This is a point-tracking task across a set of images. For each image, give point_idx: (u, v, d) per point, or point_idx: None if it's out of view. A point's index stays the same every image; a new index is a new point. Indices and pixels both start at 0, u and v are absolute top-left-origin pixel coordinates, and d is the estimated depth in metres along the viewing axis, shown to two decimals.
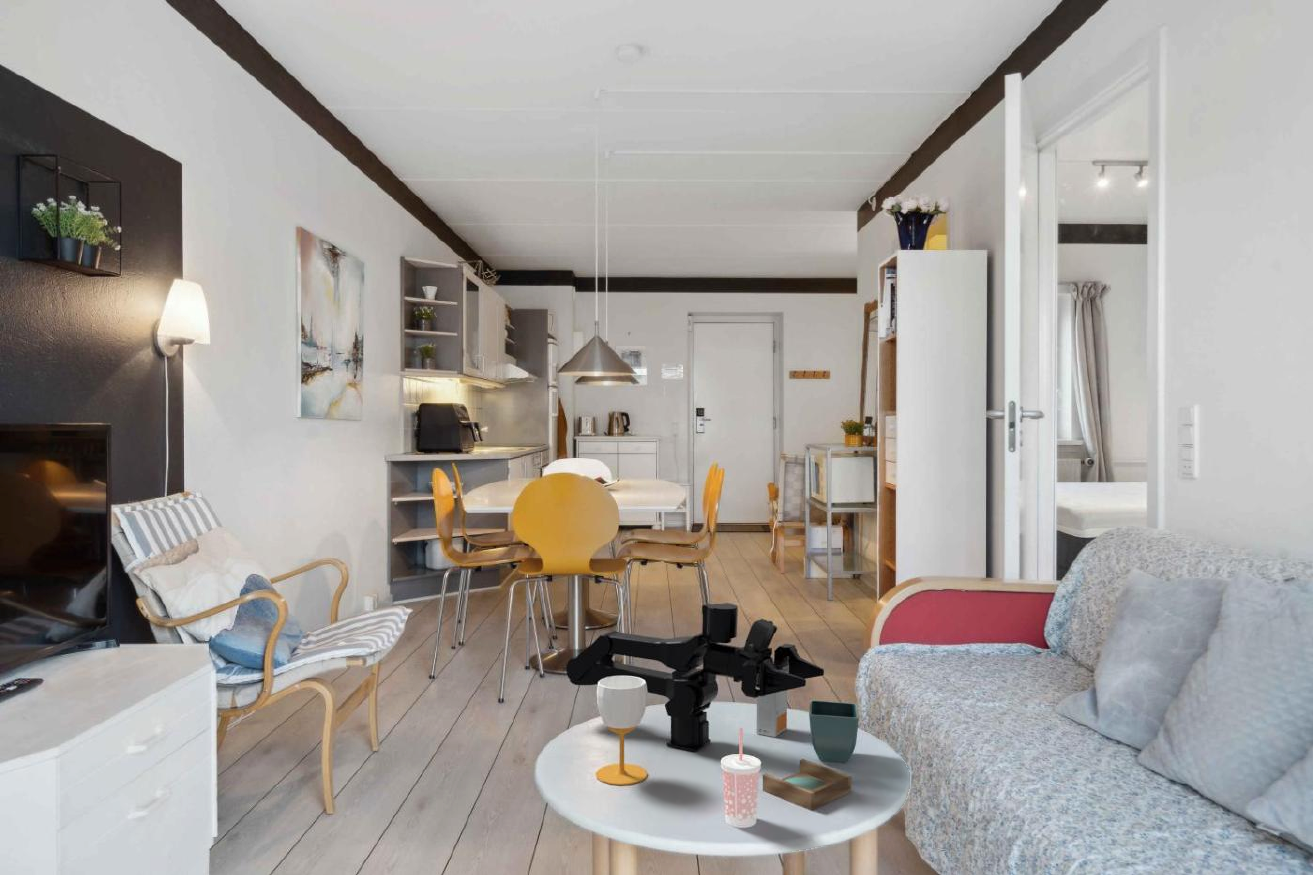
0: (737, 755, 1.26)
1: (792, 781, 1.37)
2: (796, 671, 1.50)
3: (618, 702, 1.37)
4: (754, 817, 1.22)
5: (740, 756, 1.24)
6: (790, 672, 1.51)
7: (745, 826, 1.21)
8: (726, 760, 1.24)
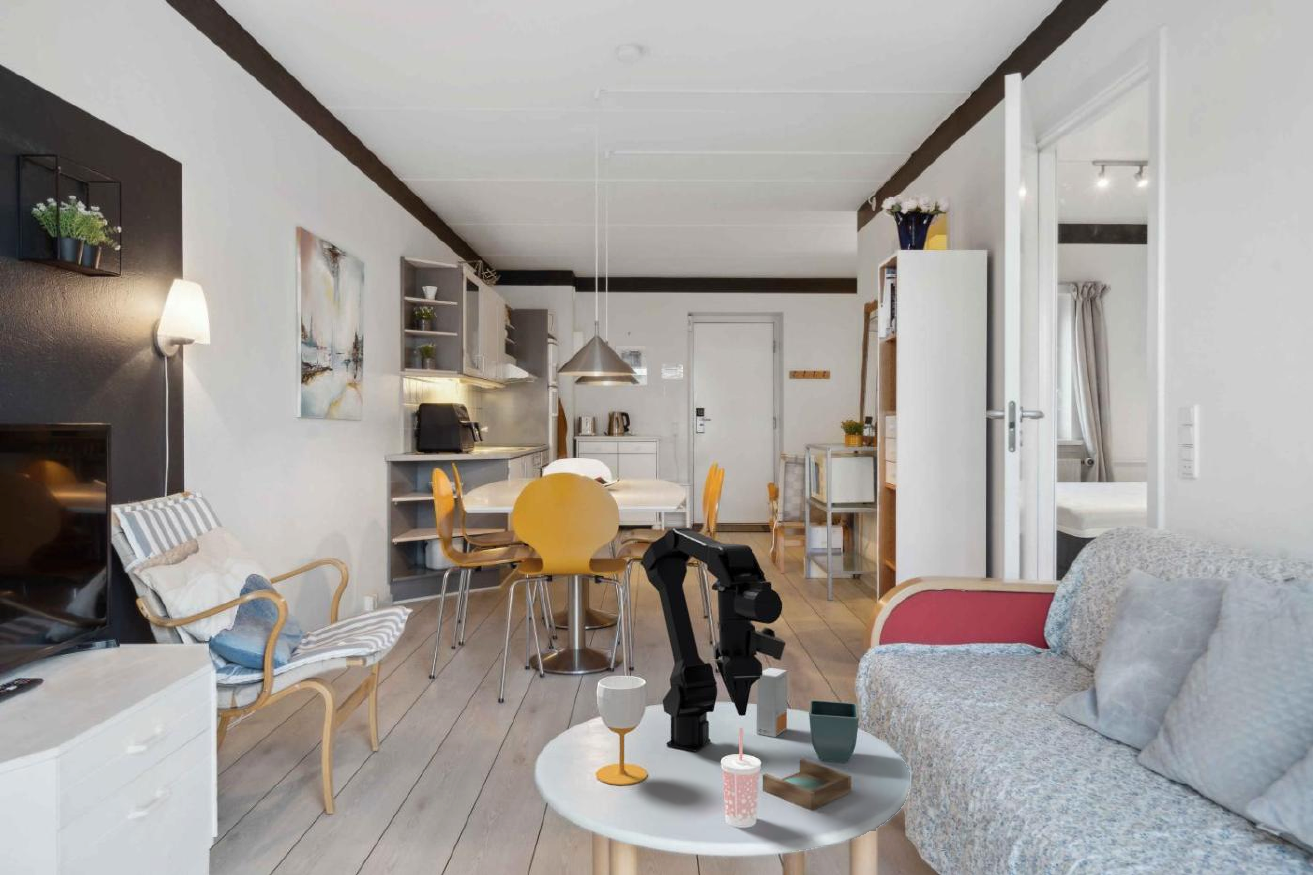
0: (737, 755, 1.26)
1: (792, 781, 1.37)
2: None
3: (618, 702, 1.37)
4: (754, 817, 1.22)
5: (740, 756, 1.24)
6: None
7: (745, 826, 1.21)
8: (726, 760, 1.24)
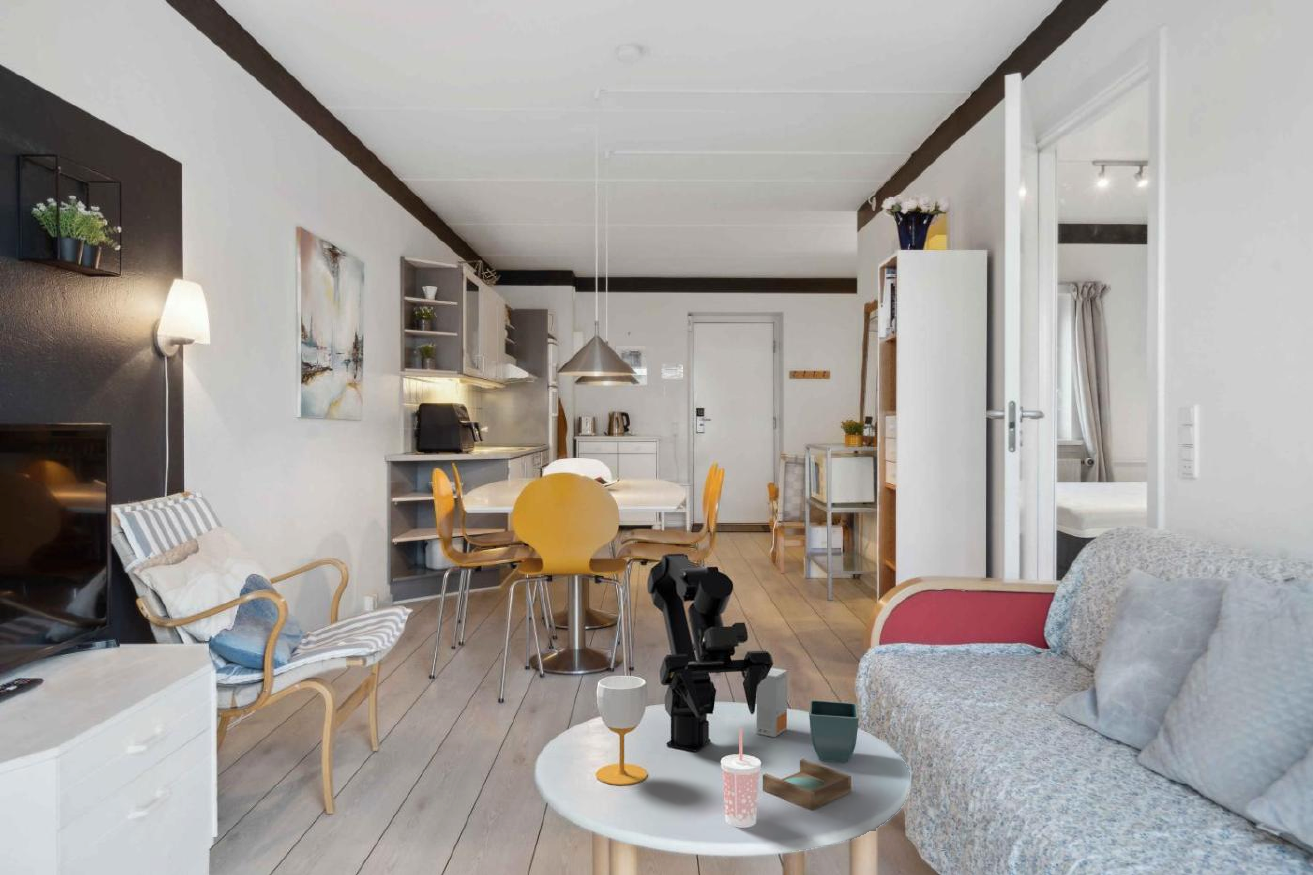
0: (737, 755, 1.26)
1: (792, 781, 1.37)
2: (746, 685, 1.38)
3: (618, 702, 1.37)
4: (754, 817, 1.22)
5: (740, 756, 1.24)
6: (745, 680, 1.39)
7: (745, 826, 1.21)
8: (726, 760, 1.24)
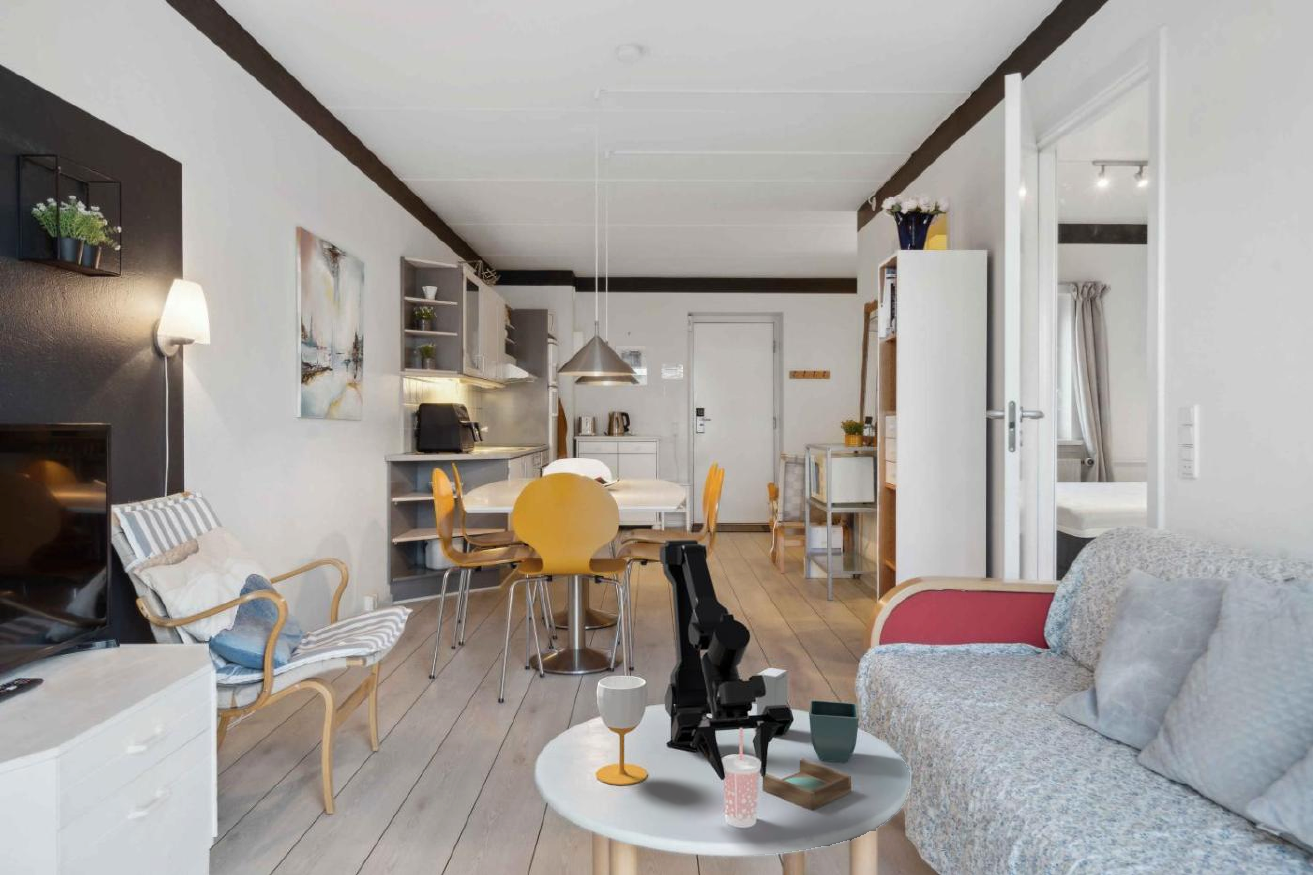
0: (737, 755, 1.26)
1: (792, 781, 1.37)
2: (756, 744, 1.27)
3: (618, 702, 1.37)
4: (754, 817, 1.22)
5: (740, 756, 1.24)
6: (755, 738, 1.29)
7: (745, 826, 1.21)
8: (726, 760, 1.24)
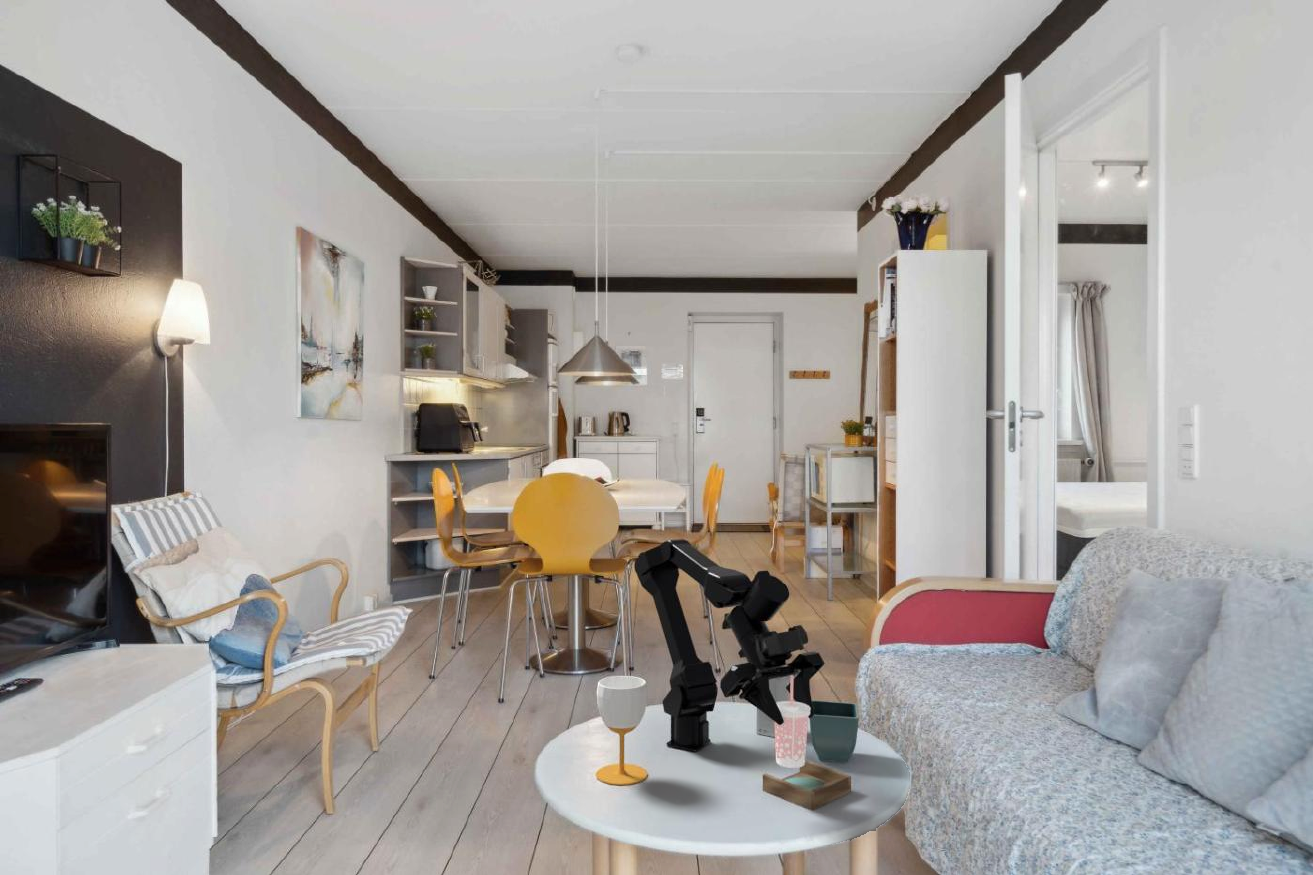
0: (781, 702, 1.34)
1: (792, 781, 1.37)
2: (795, 689, 1.36)
3: (618, 702, 1.37)
4: None
5: (791, 702, 1.31)
6: None
7: (800, 766, 1.29)
8: None
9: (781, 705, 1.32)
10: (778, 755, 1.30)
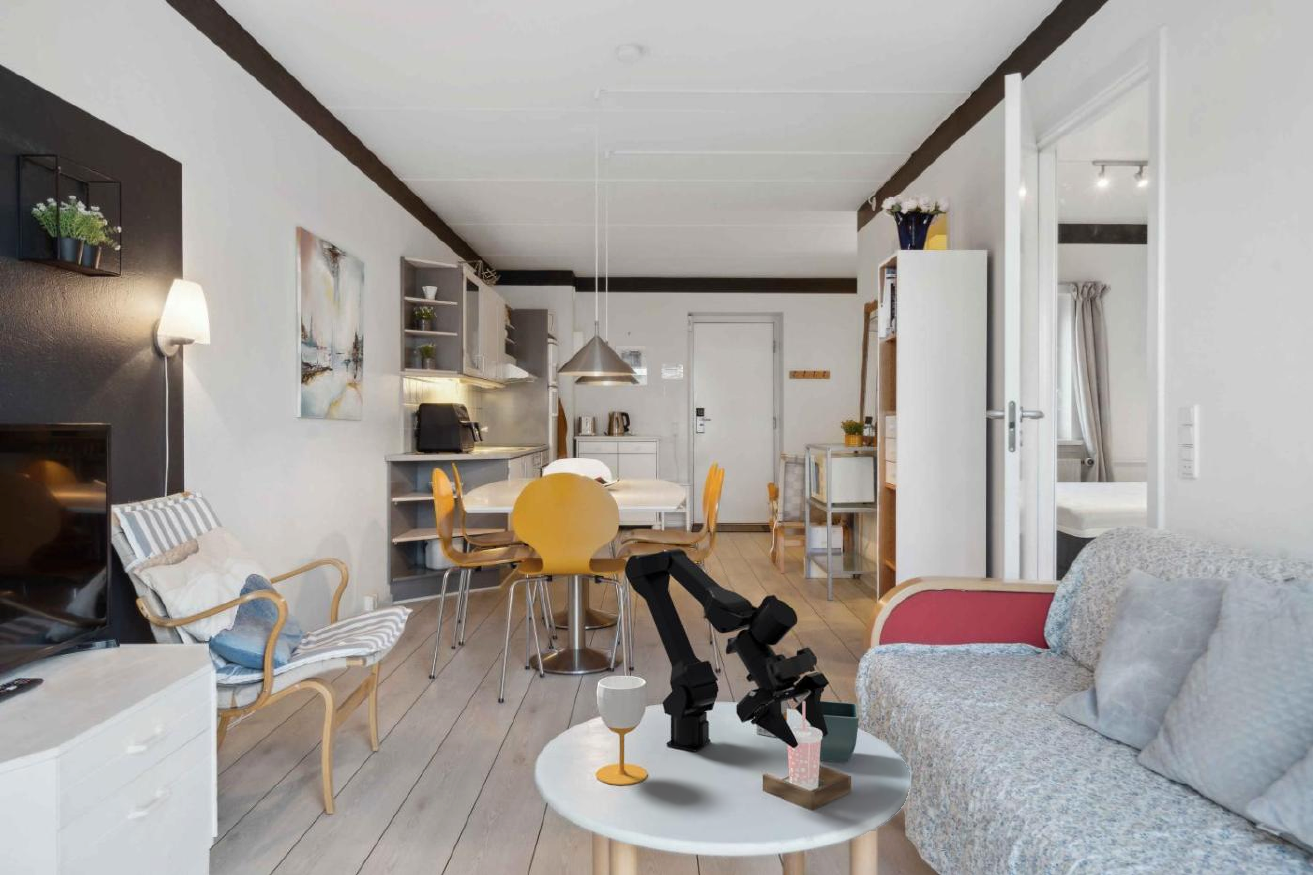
0: (792, 727, 1.37)
1: None
2: (807, 709, 1.40)
3: (618, 702, 1.37)
4: None
5: (804, 727, 1.35)
6: (801, 704, 1.41)
7: None
8: None
9: (793, 730, 1.36)
10: (793, 780, 1.34)
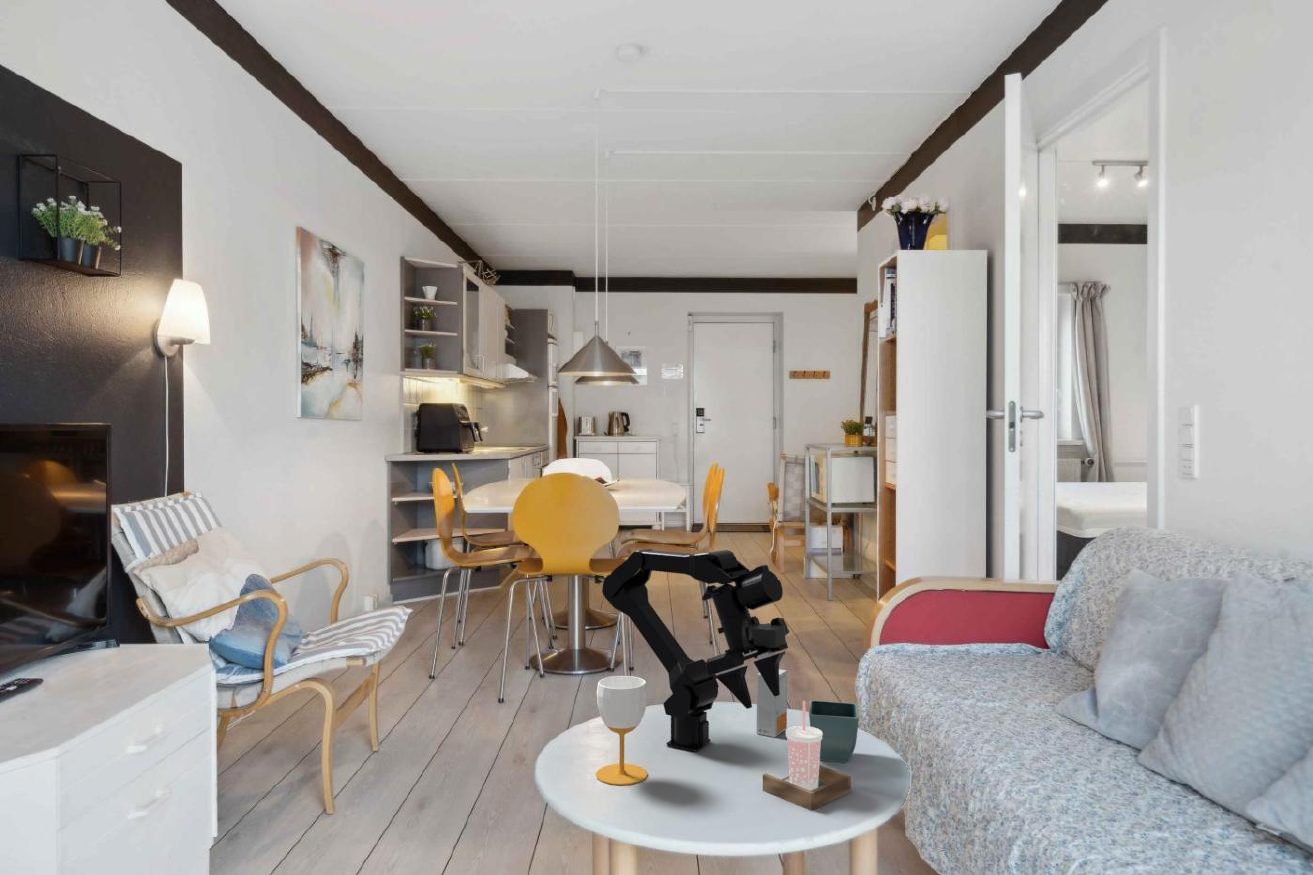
0: (792, 727, 1.37)
1: None
2: (765, 667, 1.51)
3: (618, 702, 1.37)
4: None
5: (804, 727, 1.35)
6: (761, 661, 1.52)
7: None
8: (791, 733, 1.34)
9: (793, 730, 1.36)
10: (793, 780, 1.34)
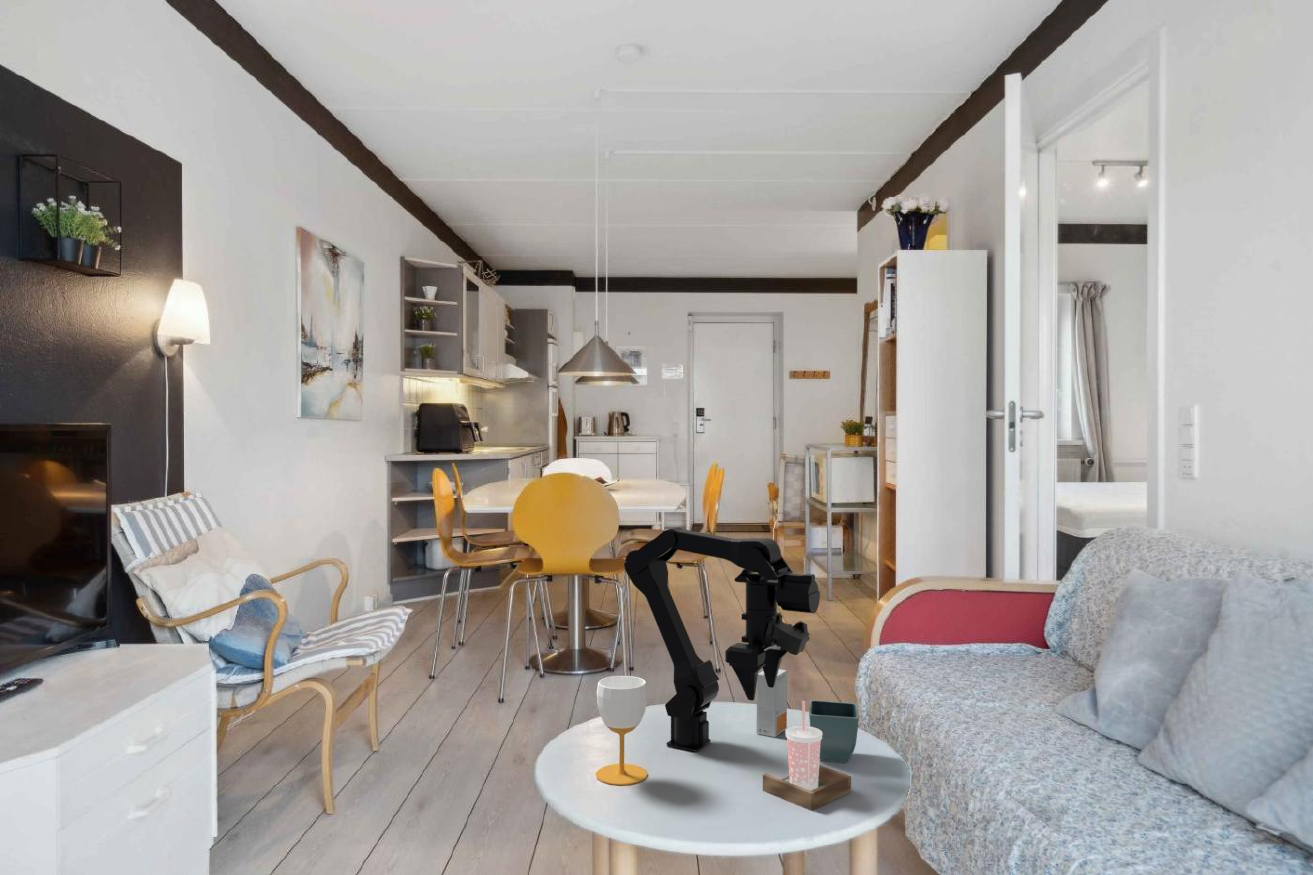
0: (792, 727, 1.37)
1: None
2: (768, 658, 1.53)
3: (618, 702, 1.37)
4: None
5: (804, 727, 1.35)
6: (765, 650, 1.54)
7: None
8: (790, 733, 1.35)
9: (793, 730, 1.36)
10: (793, 780, 1.34)
